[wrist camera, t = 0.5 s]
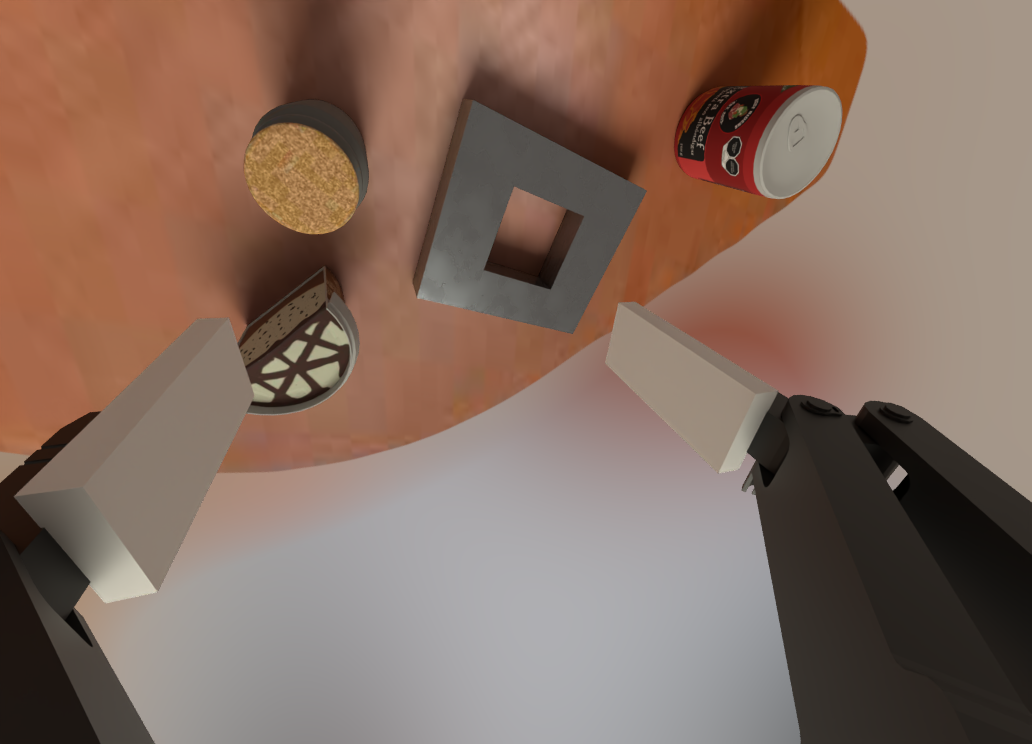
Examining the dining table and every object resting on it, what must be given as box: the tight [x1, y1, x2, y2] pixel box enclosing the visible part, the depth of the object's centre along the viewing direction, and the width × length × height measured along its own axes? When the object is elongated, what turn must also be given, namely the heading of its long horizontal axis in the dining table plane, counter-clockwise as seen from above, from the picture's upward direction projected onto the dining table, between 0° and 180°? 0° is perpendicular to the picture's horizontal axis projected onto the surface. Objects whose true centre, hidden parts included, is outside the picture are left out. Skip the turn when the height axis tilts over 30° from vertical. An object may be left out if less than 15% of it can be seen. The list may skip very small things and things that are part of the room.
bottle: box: [244, 99, 369, 234], centre depth 23 cm, size 6×6×15 cm
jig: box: [413, 99, 646, 334], centre depth 36 cm, size 16×18×4 cm
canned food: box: [674, 85, 842, 199], centre depth 34 cm, size 8×8×11 cm
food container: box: [237, 266, 360, 415], centre depth 32 cm, size 12×6×10 cm, turn 121°
